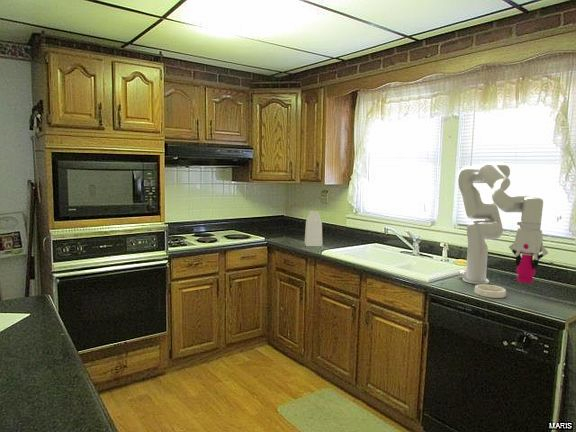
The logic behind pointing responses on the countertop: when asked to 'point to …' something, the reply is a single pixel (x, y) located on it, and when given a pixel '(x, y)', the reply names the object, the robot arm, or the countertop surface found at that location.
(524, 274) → the pepper mill
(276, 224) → the countertop surface
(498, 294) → the ring holder
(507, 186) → the robot arm
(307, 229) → the milk
